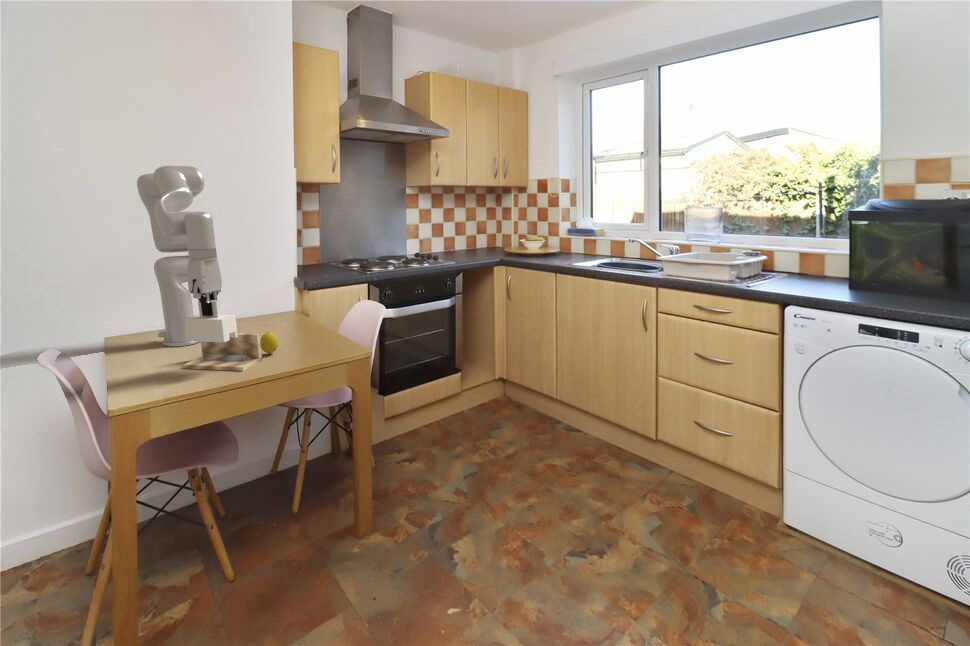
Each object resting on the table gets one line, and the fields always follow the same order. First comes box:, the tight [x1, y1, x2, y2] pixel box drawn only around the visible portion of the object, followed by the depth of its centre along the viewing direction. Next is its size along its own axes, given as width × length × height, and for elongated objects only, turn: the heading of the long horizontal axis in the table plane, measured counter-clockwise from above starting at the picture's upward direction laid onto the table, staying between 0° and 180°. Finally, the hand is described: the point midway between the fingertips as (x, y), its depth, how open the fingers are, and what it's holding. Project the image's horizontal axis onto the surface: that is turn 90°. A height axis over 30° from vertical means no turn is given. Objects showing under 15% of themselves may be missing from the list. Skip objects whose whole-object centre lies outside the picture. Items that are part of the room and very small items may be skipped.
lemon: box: [260, 331, 279, 355], centre depth 185 cm, size 6×6×8 cm
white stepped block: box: [185, 299, 238, 343], centre depth 167 cm, size 12×7×12 cm, turn 82°
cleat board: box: [182, 332, 263, 372], centre depth 174 cm, size 20×11×9 cm, turn 82°
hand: (210, 314), depth 167 cm, fingers closed on white stepped block, 1 cm apart
